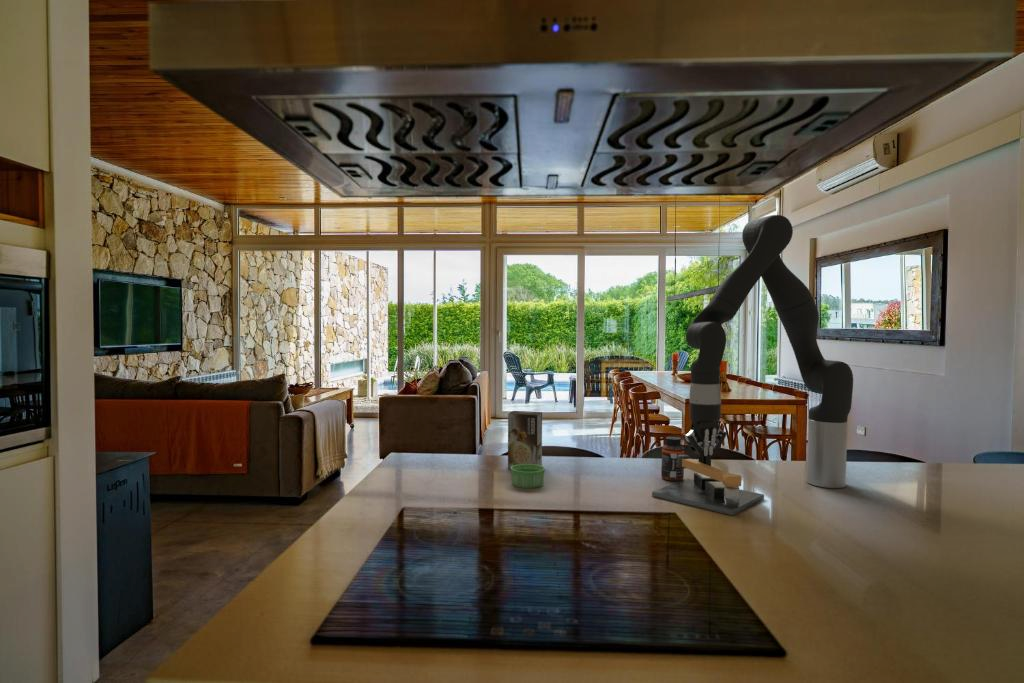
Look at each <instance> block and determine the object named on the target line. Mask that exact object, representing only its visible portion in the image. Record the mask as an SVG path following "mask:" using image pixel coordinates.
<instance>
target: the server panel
mask: <svg viewBox="0 0 1024 683" xmlns="http://www.w3.org/2000/svg"><path fill="white" fill-rule="evenodd" d="M722 483H723V482H720V481H718V480H715V479H712V478H710V477H707V476H705V475H702V474H700V473H697V472H695V473H694V472H693V479H692V478H691V479H690V478H686V479H683V480H681V481H676V482H675V483H671V484H669V485H667V486H663V487H661V488H657V489H655V490H652V492H651V497H653V498H658V499H660V500H661V499H662V500H666V501H670V502H675V503H679V504H683V505H687V506H691V507H695V508H700V509H703V510H708V511H712V512H715V513H721V514H724V515H728V516H734V515H736V514H738V513H740V512H742V511H744V510H746V509H748V508H749V507H752V506H754V505H756V504H757V503H759V502H762V501H763V500H765V494H763V493H760V492H759V493H758V492H754V491H749V490H744V489H740V486H739V487H731V486H726V485H723V484H722Z"/></svg>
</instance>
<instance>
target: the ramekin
mask: <svg viewBox="0 0 1024 683" xmlns="http://www.w3.org/2000/svg"><path fill="white" fill-rule="evenodd" d="M545 471H546V467H545V466H543V465H542V466H541V465H536V464H517V465H513V466H511V469H510V472H511V484H512V485H514V487H518V488H523V489H533V488H540V487H542V486H543V485H544V478H545Z"/></svg>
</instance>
